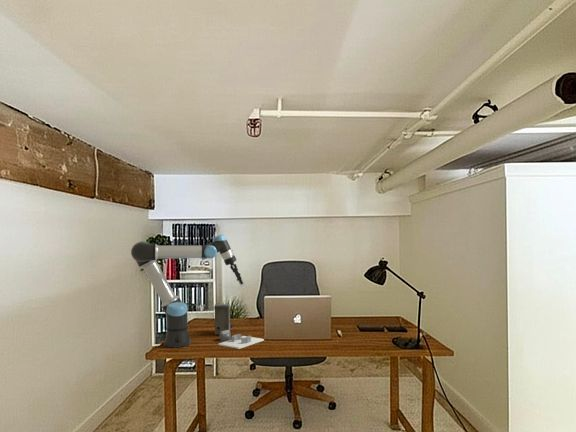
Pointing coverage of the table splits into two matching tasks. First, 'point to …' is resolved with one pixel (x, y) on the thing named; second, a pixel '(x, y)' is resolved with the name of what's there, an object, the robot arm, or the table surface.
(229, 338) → the light grey cube
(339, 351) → the table surface
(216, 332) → the vintage camera
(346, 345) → the table surface
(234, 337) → the barrel stand
